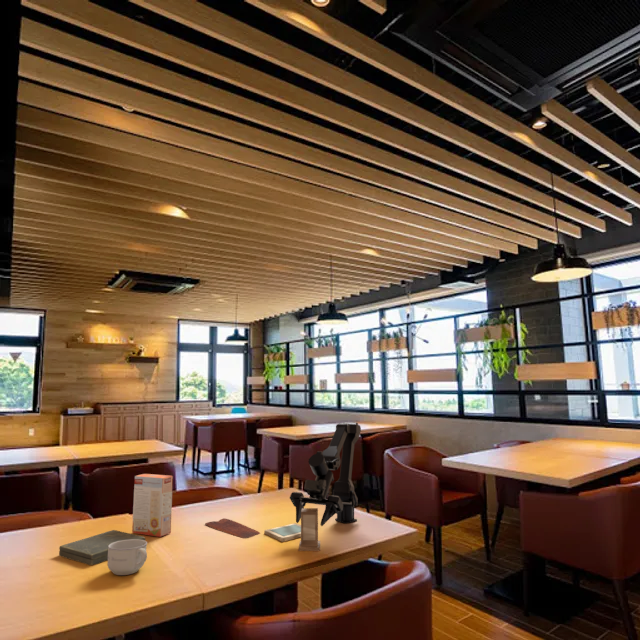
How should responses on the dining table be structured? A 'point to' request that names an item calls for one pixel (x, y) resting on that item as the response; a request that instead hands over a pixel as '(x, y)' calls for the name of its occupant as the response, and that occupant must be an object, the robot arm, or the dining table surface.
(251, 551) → the dining table surface
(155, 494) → the cracker box
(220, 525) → the wooden tablet
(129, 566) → the teacup
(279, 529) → the teal framed panel
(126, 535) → the case
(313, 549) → the stepped wooden pillar
